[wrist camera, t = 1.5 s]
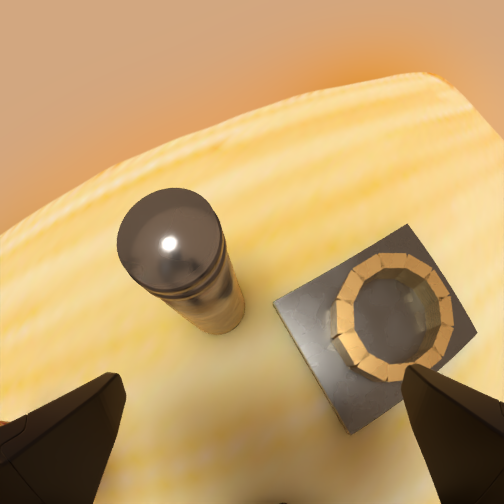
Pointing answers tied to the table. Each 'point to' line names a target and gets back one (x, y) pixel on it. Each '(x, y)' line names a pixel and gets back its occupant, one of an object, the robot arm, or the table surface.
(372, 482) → the table surface
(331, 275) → the ring collar
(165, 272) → the piston
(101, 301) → the table surface
